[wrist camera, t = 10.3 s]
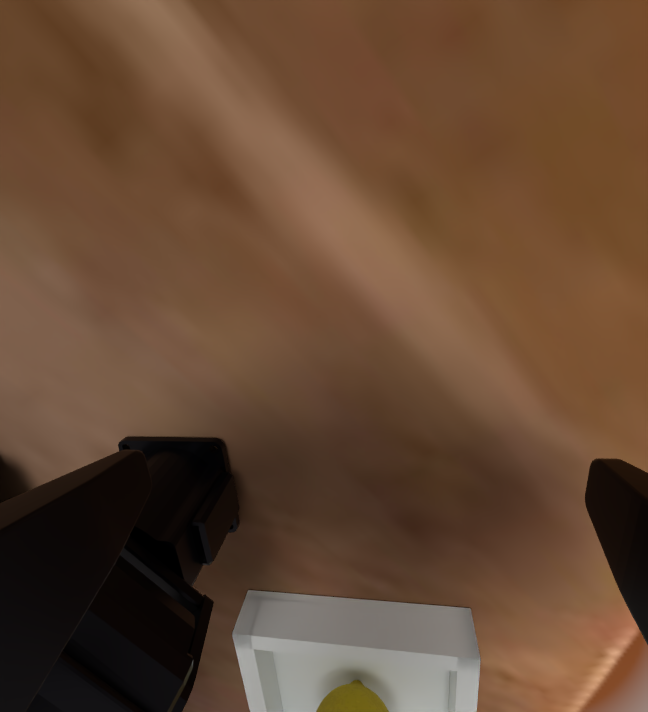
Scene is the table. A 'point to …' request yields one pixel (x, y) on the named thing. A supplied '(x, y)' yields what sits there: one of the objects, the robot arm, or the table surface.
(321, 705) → the lemon
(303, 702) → the dish
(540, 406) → the table surface
